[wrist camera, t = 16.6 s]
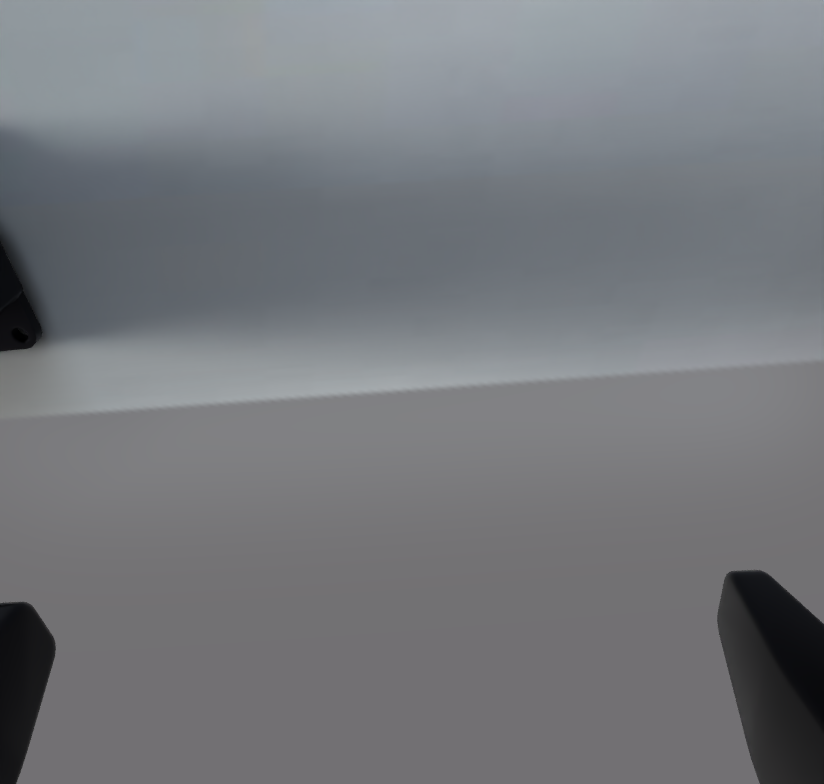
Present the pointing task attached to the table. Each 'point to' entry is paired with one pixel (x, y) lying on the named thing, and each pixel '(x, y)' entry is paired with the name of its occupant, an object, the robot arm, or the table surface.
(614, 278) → the table surface
